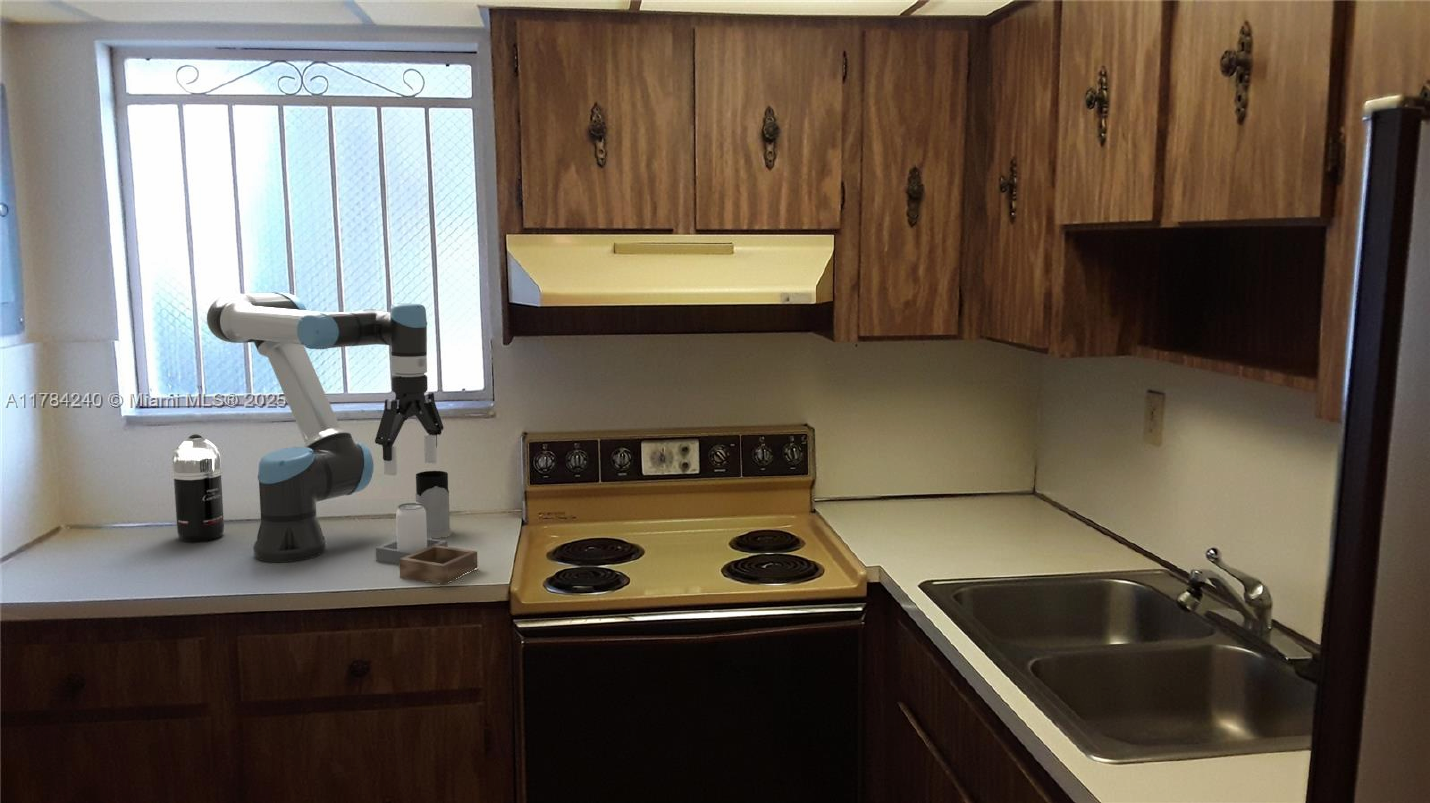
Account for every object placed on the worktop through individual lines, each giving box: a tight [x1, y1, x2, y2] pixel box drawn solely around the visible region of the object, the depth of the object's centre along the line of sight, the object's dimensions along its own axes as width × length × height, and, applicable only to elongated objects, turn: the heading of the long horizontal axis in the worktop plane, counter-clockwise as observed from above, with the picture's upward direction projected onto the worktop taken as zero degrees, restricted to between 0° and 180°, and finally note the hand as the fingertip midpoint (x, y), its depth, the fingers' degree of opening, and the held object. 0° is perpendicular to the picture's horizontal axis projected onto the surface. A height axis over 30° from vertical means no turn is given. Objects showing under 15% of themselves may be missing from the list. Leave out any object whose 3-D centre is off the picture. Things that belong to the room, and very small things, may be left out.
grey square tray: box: [375, 538, 449, 565], centre depth 223 cm, size 11×11×3 cm
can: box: [395, 502, 427, 552], centre depth 222 cm, size 6×6×12 cm
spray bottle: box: [171, 433, 225, 543], centre depth 234 cm, size 10×10×25 cm
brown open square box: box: [398, 545, 479, 585], centre depth 212 cm, size 12×12×4 cm
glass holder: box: [415, 470, 453, 539], centre depth 243 cm, size 9×14×15 cm, turn 29°
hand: (411, 468), depth 220 cm, fingers open, 13 cm apart
